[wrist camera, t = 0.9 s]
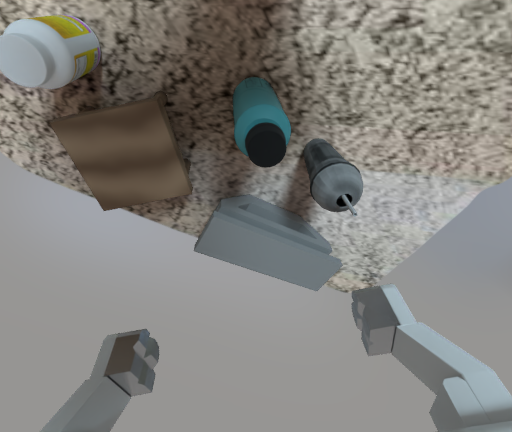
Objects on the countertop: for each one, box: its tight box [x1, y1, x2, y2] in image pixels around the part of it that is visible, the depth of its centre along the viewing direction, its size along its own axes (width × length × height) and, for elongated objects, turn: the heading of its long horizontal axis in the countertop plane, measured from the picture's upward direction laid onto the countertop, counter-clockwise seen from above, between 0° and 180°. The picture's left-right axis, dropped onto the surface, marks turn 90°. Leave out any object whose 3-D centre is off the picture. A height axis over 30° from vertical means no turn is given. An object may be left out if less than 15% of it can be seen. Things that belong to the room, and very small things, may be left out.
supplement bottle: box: [0, 15, 101, 89], centre depth 33 cm, size 7×7×13 cm
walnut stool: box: [49, 91, 193, 211], centre depth 43 cm, size 14×14×8 cm
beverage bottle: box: [232, 76, 291, 167], centre depth 36 cm, size 6×7×20 cm
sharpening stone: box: [194, 194, 342, 291], centre depth 54 cm, size 25×8×11 cm, turn 61°
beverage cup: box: [304, 139, 363, 216], centre depth 42 cm, size 7×7×20 cm
